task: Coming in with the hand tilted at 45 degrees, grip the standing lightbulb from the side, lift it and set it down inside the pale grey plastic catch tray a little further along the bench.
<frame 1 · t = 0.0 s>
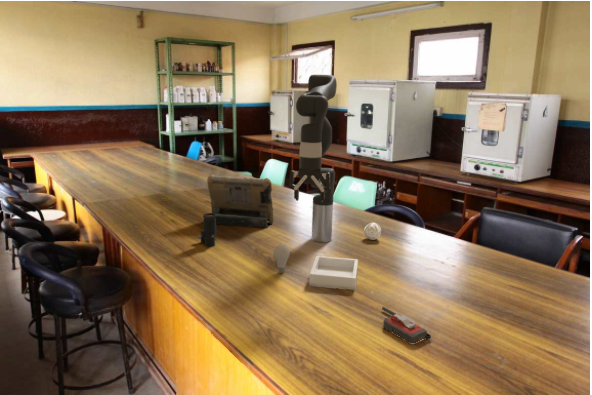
hand: (309, 200, 159), 29 cm above the worktop, tool pointing down, fingers open, 8 cm apart
scope: (209, 245, 198), on the worktop
catch tray: (334, 277, 167), on the worktop
white textured ball: (372, 239, 211), on the worktop
lightbulb: (281, 273, 170), on the worktop
tablet: (241, 223, 230), on the worktop
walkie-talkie: (398, 328, 134), on the worktop
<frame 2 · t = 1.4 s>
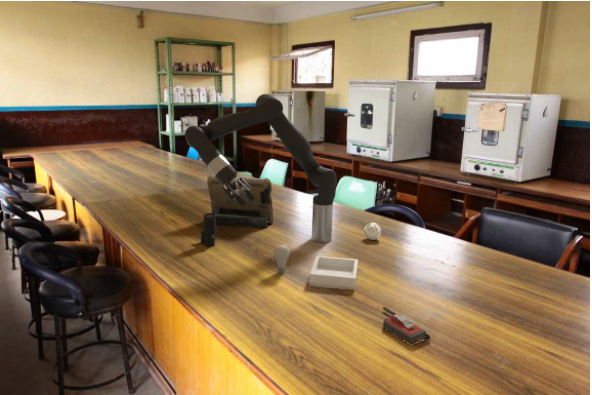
hand: (249, 202, 172), 25 cm above the worktop, tool tilted 45°, fingers open, 8 cm apart
nothing on the worktop moved.
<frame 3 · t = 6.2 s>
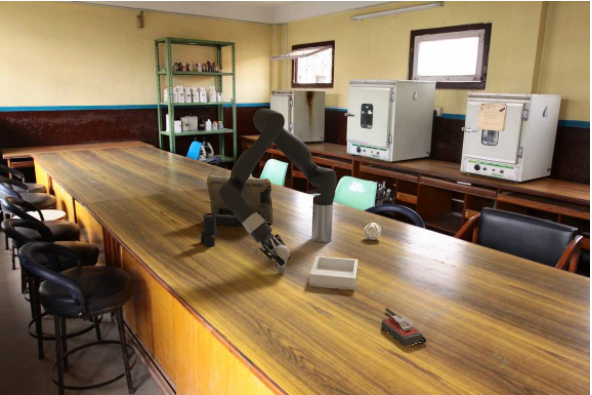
hand: (286, 261, 169), 5 cm above the worktop, tool tilted 45°, fingers closed on lightbulb, 5 cm apart
lightbulb: (281, 273, 170), on the worktop, touching gripper
when the fingers open (7 cm above the worktop, at t = 12.0 s): lightbulb drops 1 cm, resting on catch tray.
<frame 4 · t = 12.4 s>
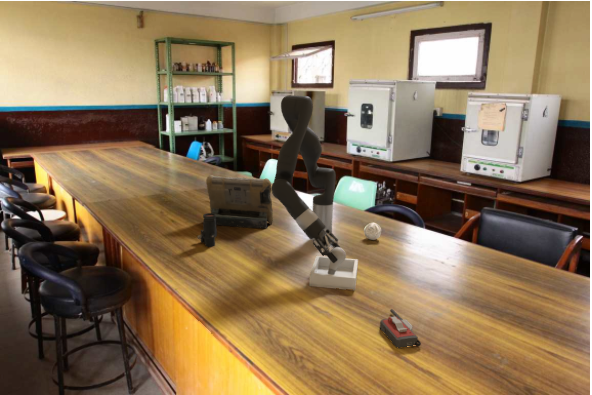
hand: (339, 257, 165), 8 cm above the worktop, tool tilted 45°, fingers open, 8 cm apart
lightbulb: (329, 276, 164), point 1 cm above the worktop, touching catch tray, gripper
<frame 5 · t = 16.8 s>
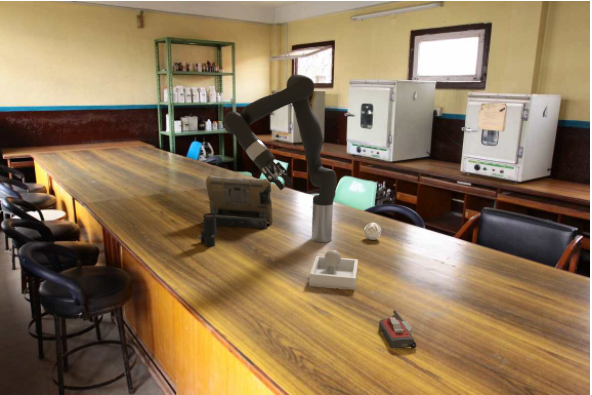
hand: (287, 186, 174), 31 cm above the worktop, tool tilted 45°, fingers open, 8 cm apart
lightbulb: (329, 274, 165), point 2 cm above the worktop, touching catch tray
at the end: lightbulb inside the target area on the catch tray (2.6 cm from its centre), point 2.0 cm above the catch tray's base; the gripper is holding nothing; lightbulb touching catch tray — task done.
